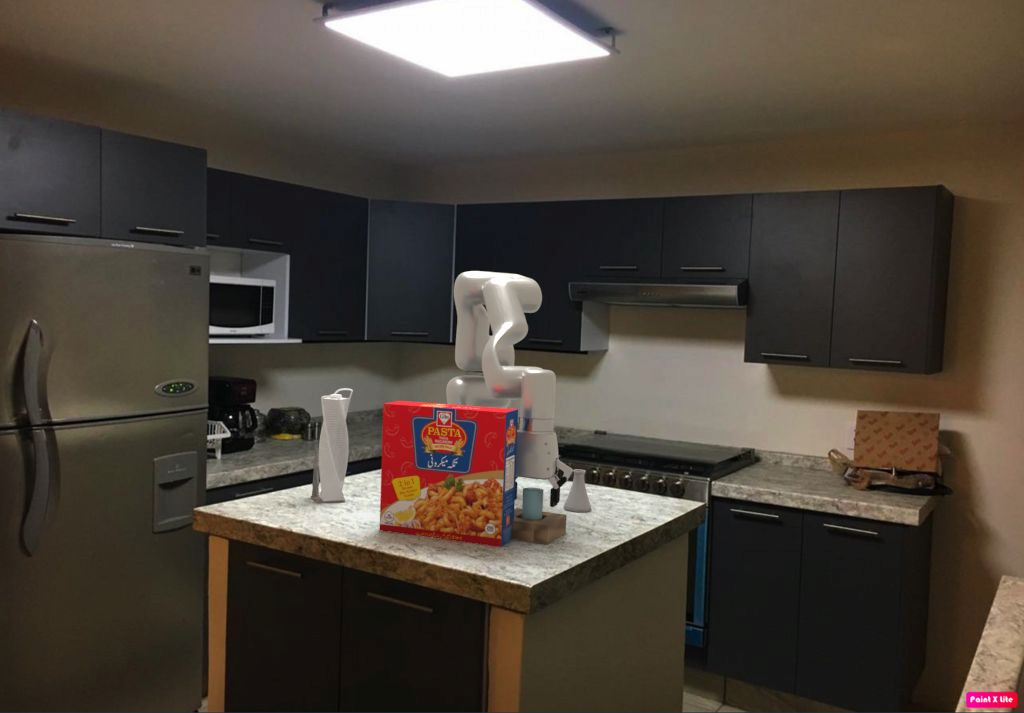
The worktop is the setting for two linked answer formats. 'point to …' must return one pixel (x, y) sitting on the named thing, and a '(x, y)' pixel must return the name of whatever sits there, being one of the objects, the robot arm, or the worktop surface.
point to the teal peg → (532, 503)
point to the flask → (578, 494)
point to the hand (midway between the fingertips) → (533, 503)
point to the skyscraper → (332, 450)
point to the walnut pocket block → (538, 527)
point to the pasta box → (449, 471)
